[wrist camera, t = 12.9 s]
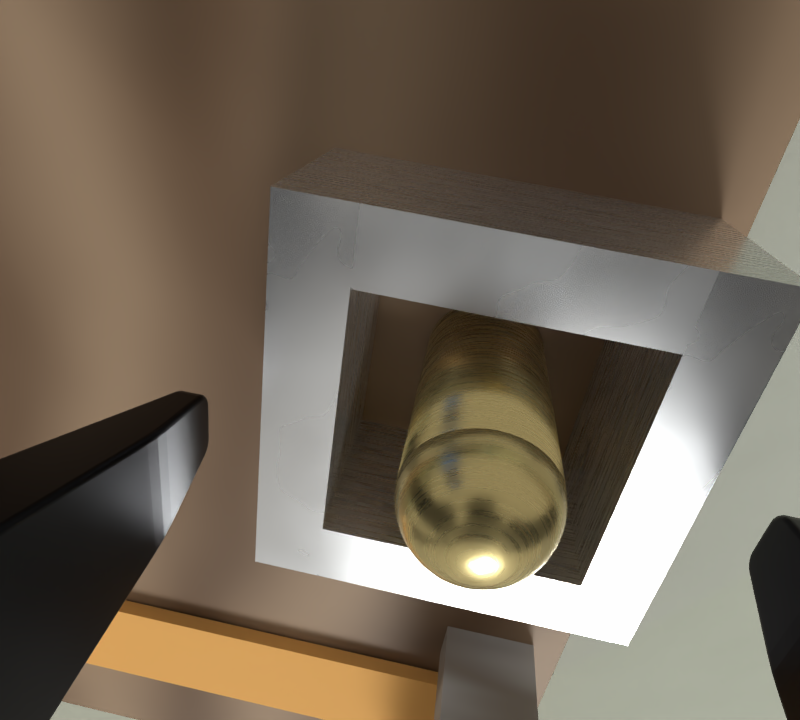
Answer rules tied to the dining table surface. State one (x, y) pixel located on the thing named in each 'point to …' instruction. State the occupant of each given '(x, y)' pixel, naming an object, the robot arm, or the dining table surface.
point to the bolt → (263, 667)
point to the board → (248, 246)
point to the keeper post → (482, 456)
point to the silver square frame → (526, 303)
